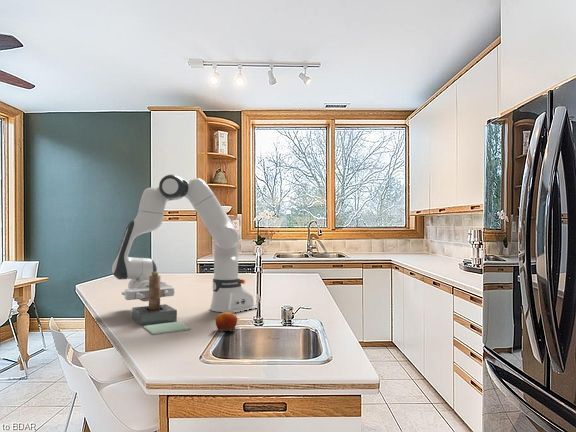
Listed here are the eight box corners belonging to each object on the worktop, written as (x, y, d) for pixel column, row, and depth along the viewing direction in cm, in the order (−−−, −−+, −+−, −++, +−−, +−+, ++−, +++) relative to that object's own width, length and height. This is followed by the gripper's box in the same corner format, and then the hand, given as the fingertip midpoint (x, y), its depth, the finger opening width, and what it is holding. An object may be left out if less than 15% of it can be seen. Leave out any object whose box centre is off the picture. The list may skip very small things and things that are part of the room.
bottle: (157, 318, 177) (158, 271, 177) (161, 320, 174) (161, 272, 174) (147, 319, 175) (147, 271, 175) (150, 321, 171) (151, 272, 171)
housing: (165, 314, 184) (165, 304, 184) (176, 321, 172) (176, 310, 172) (132, 318, 176) (132, 307, 176) (141, 325, 165) (141, 314, 165)
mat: (179, 322, 170) (179, 321, 170) (190, 329, 160) (190, 328, 160) (143, 327, 162) (143, 325, 162) (152, 334, 152) (153, 333, 152)
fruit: (217, 331, 153) (216, 309, 157) (215, 337, 159) (214, 316, 163) (239, 330, 155) (238, 308, 159) (236, 336, 161) (235, 315, 165)
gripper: (120, 285, 180) (128, 290, 168) (168, 281, 191) (179, 285, 180) (120, 300, 180) (128, 306, 168) (168, 295, 191) (178, 300, 180)
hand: (154, 295), depth 174 cm, fingers open, 8 cm apart
